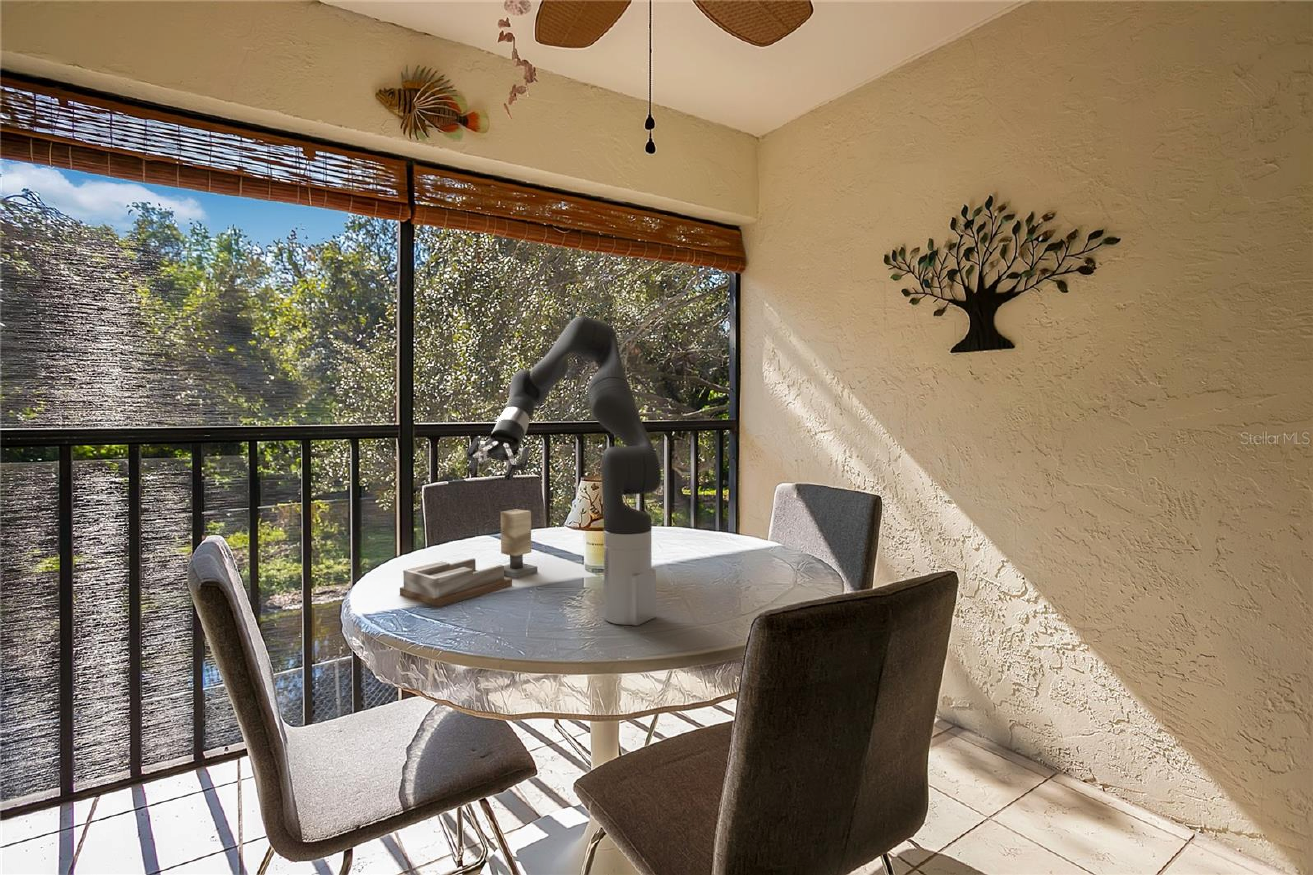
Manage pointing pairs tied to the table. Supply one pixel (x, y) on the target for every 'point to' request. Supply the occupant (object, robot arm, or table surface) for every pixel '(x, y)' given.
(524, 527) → the keyhole post
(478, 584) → the track
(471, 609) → the table surface
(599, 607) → the table surface
